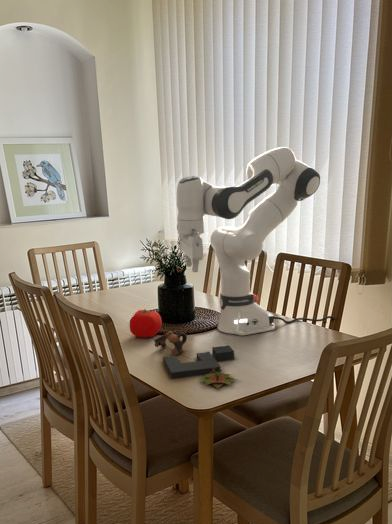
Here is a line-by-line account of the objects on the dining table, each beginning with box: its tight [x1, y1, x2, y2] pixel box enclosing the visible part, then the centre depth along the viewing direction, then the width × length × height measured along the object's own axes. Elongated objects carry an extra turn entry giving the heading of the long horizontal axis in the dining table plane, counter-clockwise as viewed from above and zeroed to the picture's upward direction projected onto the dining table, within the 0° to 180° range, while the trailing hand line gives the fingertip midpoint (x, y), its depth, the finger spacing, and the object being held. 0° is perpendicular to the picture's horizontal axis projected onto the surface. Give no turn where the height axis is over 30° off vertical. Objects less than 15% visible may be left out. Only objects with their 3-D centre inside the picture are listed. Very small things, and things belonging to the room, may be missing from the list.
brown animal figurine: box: [153, 330, 188, 356], centre depth 194 cm, size 12×10×8 cm
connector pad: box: [211, 345, 235, 362], centre depth 186 cm, size 6×6×3 cm
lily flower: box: [197, 366, 239, 389], centre depth 167 cm, size 12×12×5 cm
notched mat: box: [162, 351, 222, 379], centre depth 179 cm, size 16×14×2 cm
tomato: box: [129, 308, 163, 339], centre depth 208 cm, size 11×13×10 cm
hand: (191, 269), depth 186 cm, fingers open, 8 cm apart
